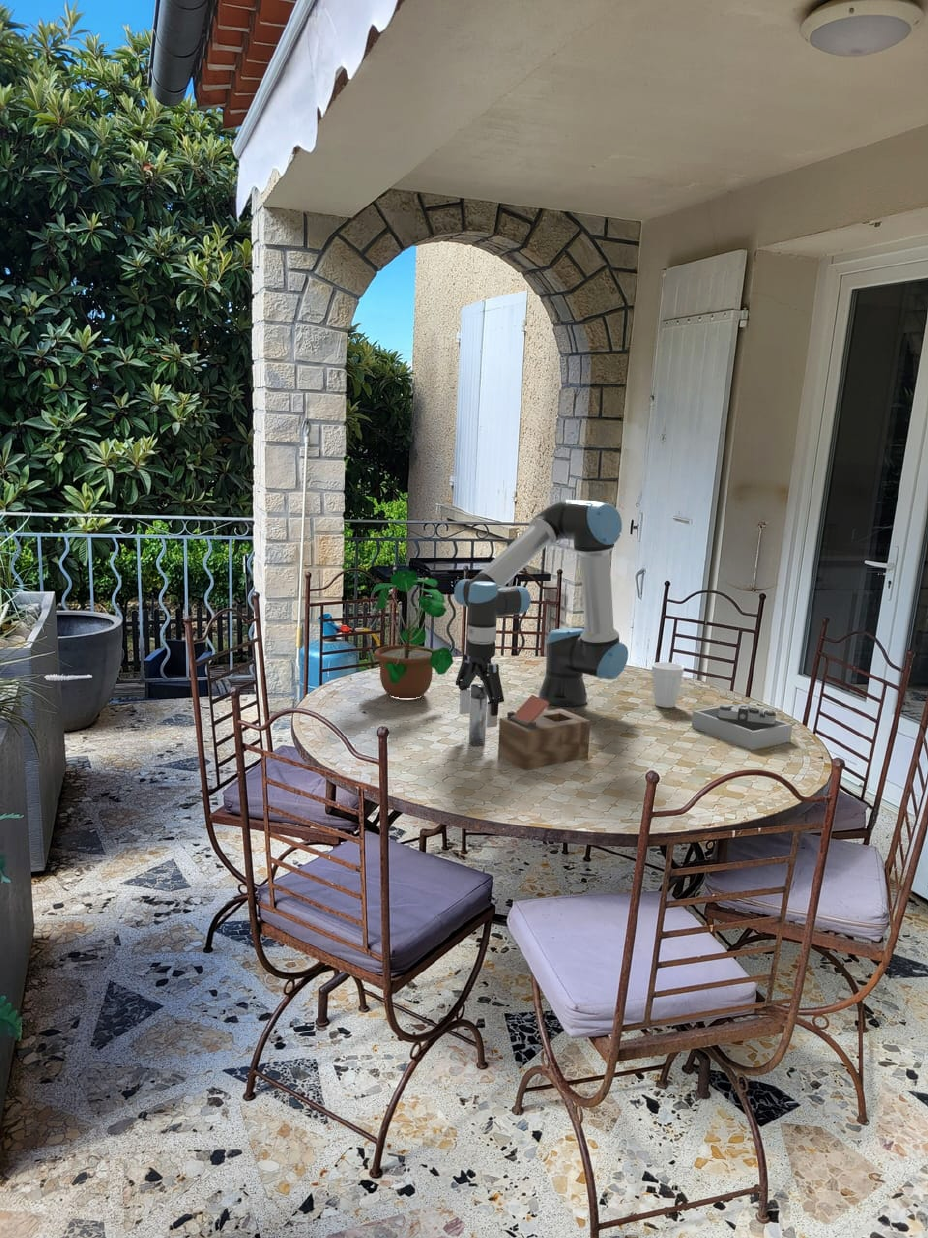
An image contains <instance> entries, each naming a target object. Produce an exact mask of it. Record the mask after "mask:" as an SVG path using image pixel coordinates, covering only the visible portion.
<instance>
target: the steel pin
mask: <svg viewBox="0 0 928 1238" xmlns="http://www.w3.org/2000/svg"><path fill="white" fill-rule="evenodd" d="M470 690H471V691H470V713H469V723H468V724H469V728H468V745H469V744H470V745H469V746H471V745H472V746H471V747H475V746H478V747H477V748H479V746H481V747H484V746H485V745H486V734H487V733H486V730H487V729H486V728H487V705H488V695H487V692H486V690H485V687H484V684H483V683H473V684H471V685H470Z"/></svg>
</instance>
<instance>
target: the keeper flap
mask: <svg viewBox="0 0 928 1238" xmlns="http://www.w3.org/2000/svg"><path fill="white" fill-rule="evenodd" d="M549 705H551V704H550V703H549V702H548V701H546V700H543V699H541V698H539V696H536V695H533V694H531V695H530V696H529V697H528V698H527V700H526V701H525V702H524V703H523V704H522V705H521V706H520V707H519V708H518V710H516V712H515V714H514V715H513V716H511V717H510V719H511V720H513V721H515V722H517V723H519V724H522V725H524V726H526V727H528V724H529V722H532V721H534V720H535V719H536V718H537V717H538V716H539V715H540V714H541V713H542V712H543V711H544V710H545V709H546V708H547V707H548V706H549Z"/></svg>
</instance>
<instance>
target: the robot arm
mask: <svg viewBox="0 0 928 1238" xmlns="http://www.w3.org/2000/svg"><path fill="white" fill-rule="evenodd" d="M622 522H623V521H622V517H621V515H620V513H619V511H618V509H617V508H616V507H614V505H613V504H611V503H608V502H602V501H599V500H597V501H596V500H576V499H565V500H561V501H558V502H556V503H553V504H551V505H549V506H548V507H547V508H545V509H543V510H542V511H541V512H539V513H538V514H537V515H535V516H534V518H532V519H531V520H530V521H529V524H528V527H527V528H526V529H525V530H524V531H523V532H522V533H521V534H520V535H519V536H518V537H517V538H516V539H514V540H513V541H512V542H511V543H510V544H509V545H508V546H507V547H505V549H504V550H503V551H502V552H500V553H499V554H498V555H497V556H496V557H495V558H494V559H492V560H491V562H489V564H487V565H486V566H485V567H484V568H483V569H482V570H480V571H479V573H478V574H477V575H475V576H474V577H473V578H472V579H470V578H467V579H466V578H465V579H464V578H463V579H461V580H459V581H458V582H457V583H456V585H455V587H454V592H453V593H454V594H453V595H454V599H455V601H456V602H457V603H458V604H459V605H461V606H464V607H466V608H467V631H466V632H467V635H466V636H467V638H466V639H467V642H466V651H465V652H466V653H465V654H463V655H462V661H461V664H460V668H459V671H458V674H457V676H456V680H455V685H456V687H457V686H458V689H459V691H460V692H459V701H460V702H459V714H460V715H467V714H470V698H471V685H472V683H473V682H474V679H475V678H476V677H478V678H479V679H480V681H482V684H484V687H485V690H486V692H487V699H488V701H487V712H486V728H487V729H488V728H489V729H490V728H495V727H497V726H498V715H499V704H500V703H505V697H504V696H505V695H504V691H503V687H502V683H501V678H500V677H501V676H500V668H499V667H500V666H499V664H498V663H497V664H492V658H494V657H495V655H496V642H495V641H496V640H497V619H498V618H501V617H508V616H509V617H510V616H518V615H520V614H524V613H526V612H527V611H528V610H529V609H530V607H531V602H532V601H531V600H532V598H531V595H530V592H529V590H528V589H527V588H525V587H524V586H520V585H519V586H517V585H512V586H506V585H507V584H509V582H510V581H511V580H512V579H513V578H514V577H515V576H517V575H518V574H519V573H520V572H521V571H522V570H523V569H524V568H525V567H526V566H527V565H528V564H530V562H531V561H532V560H534V558H535V557H537V555H539V554H540V552H542V551H543V550H544V549H545V548H546V547H552V546H553V545H555V544H556V543H557V542H558V541H560V540H572V541H573V548H574V551H576V553H577V554H579V563H580V576H581V577H580V579H581V592H582V595H581V596H582V610H583V623H584V628H580V627H579V628H577V627H573V628H572V627H566V628H565V627H564V628H556V629H552V630H550V631H549V632H548V635H547V636H548V637H547V642H546V659H545V660H546V662H545V664H546V665H545V676H544V678H543V682H542V685H541V688H540V689H539V692H538V693H539V694H538V698H541V699H543V700H546V701H548V702H549V703H550V704H549V705H551V706H557V707H577V706H578V707H579V706H582V705H584V704H586V703H587V700H588V698H587V697H588V694H587V691H586V687H585V682H584V678H583V676H584V675H588V676H591V677H594V678H598V679H602V680H614V679H616V678H618V677H619V676H620V675H621V674H622V672H623V671H624V669H625V668H626V665H627V663H628V660H629V649H628V647H627V645H626V644H625V643H623V642H620V634H619V632H618V630H617V629H615V628H614V614H613V597H612V596H613V594H612V579H611V578H612V576H611V556H610V552H611V551H612V550H613V549H614V548H615V544H616V542H618V540H619V538H621V537H620V536H621V533H622V530H623V529H622V528H623V523H622ZM583 674H584V675H583Z"/></svg>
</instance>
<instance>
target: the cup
mask: <svg viewBox="0 0 928 1238" xmlns="http://www.w3.org/2000/svg"><path fill="white" fill-rule="evenodd" d="M651 668H652V669H651V670H652V671H651V672H652V679H653V693H654V694H653V695H654V705H655V706H657V707H661V708H674V707H675V706H676V703H677V699H678V695H679V691H680V686H681V682H682V678H683V675H684V673H685V672H684V671H685V666H684V665H682V664H679V663H674V662H668V661H667V662H665V661H663V662H662V661H659V662H654V663H652V664H651Z"/></svg>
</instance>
